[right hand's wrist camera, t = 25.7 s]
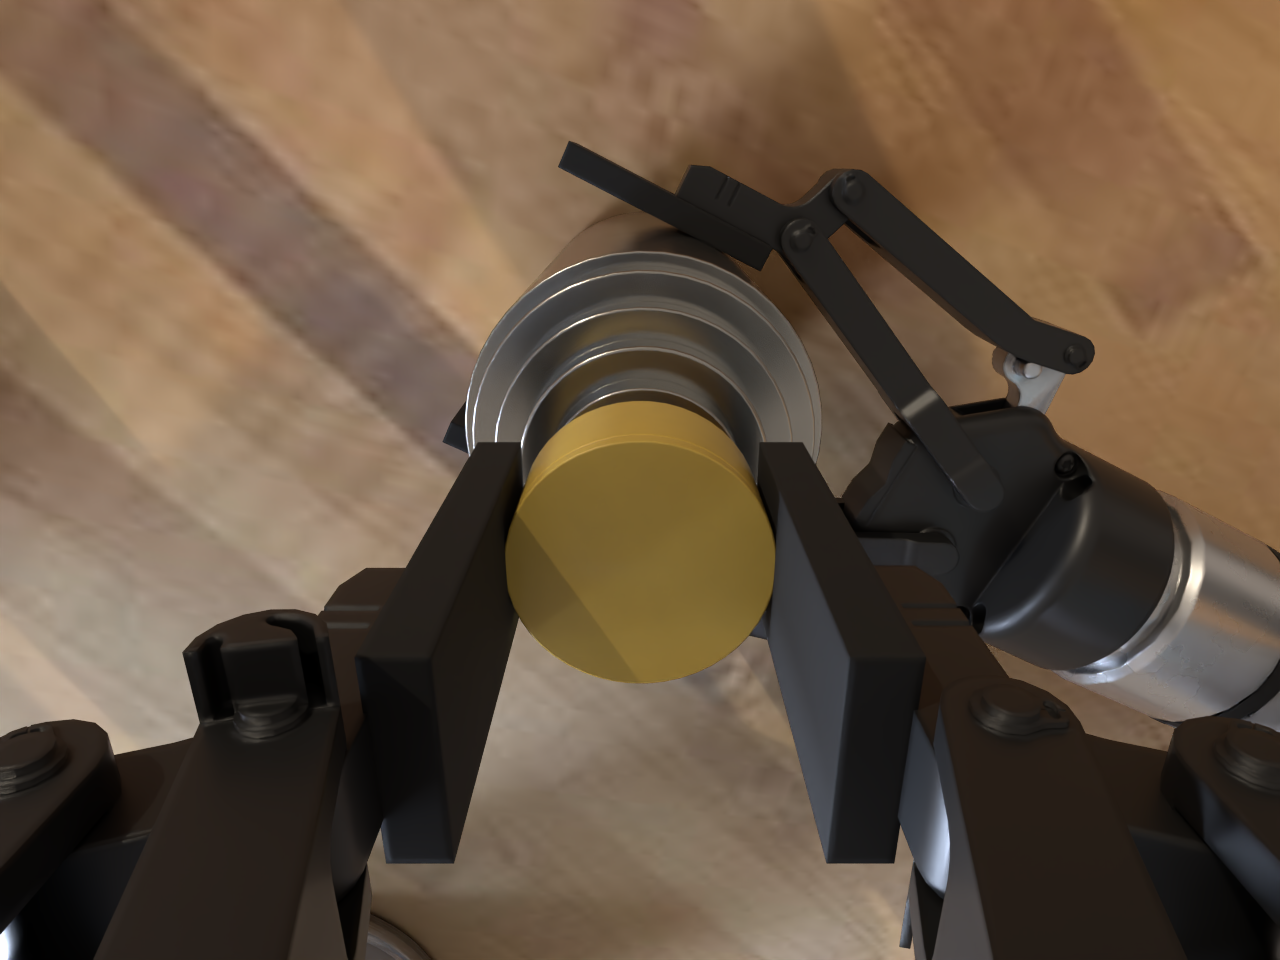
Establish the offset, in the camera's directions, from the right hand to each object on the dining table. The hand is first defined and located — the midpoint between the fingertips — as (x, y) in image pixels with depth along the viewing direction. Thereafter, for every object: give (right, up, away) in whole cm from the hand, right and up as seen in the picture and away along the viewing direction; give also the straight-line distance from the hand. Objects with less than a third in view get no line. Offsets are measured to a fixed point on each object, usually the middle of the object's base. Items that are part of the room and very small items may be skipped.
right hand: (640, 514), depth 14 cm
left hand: (-4, +6, +11) cm, 13 cm away
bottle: (0, +7, +18) cm, 19 cm away
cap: (0, -1, -2) cm, 2 cm away
